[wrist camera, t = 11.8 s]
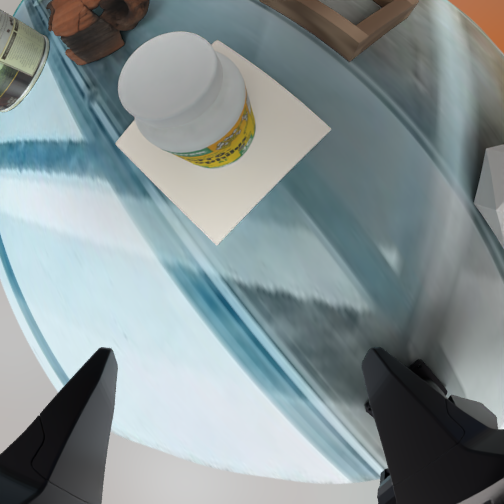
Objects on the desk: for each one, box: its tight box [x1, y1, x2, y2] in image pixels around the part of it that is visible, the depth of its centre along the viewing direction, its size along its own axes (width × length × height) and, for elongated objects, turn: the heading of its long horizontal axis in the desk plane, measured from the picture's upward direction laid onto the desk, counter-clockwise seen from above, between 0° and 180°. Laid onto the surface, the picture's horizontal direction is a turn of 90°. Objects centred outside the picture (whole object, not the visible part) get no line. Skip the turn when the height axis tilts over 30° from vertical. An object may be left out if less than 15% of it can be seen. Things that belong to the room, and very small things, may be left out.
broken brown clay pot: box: [46, 0, 149, 65], centre depth 15 cm, size 12×10×8 cm
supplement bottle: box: [118, 31, 256, 169], centre depth 13 cm, size 5×5×10 cm
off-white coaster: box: [115, 40, 331, 245], centre depth 18 cm, size 11×11×1 cm
